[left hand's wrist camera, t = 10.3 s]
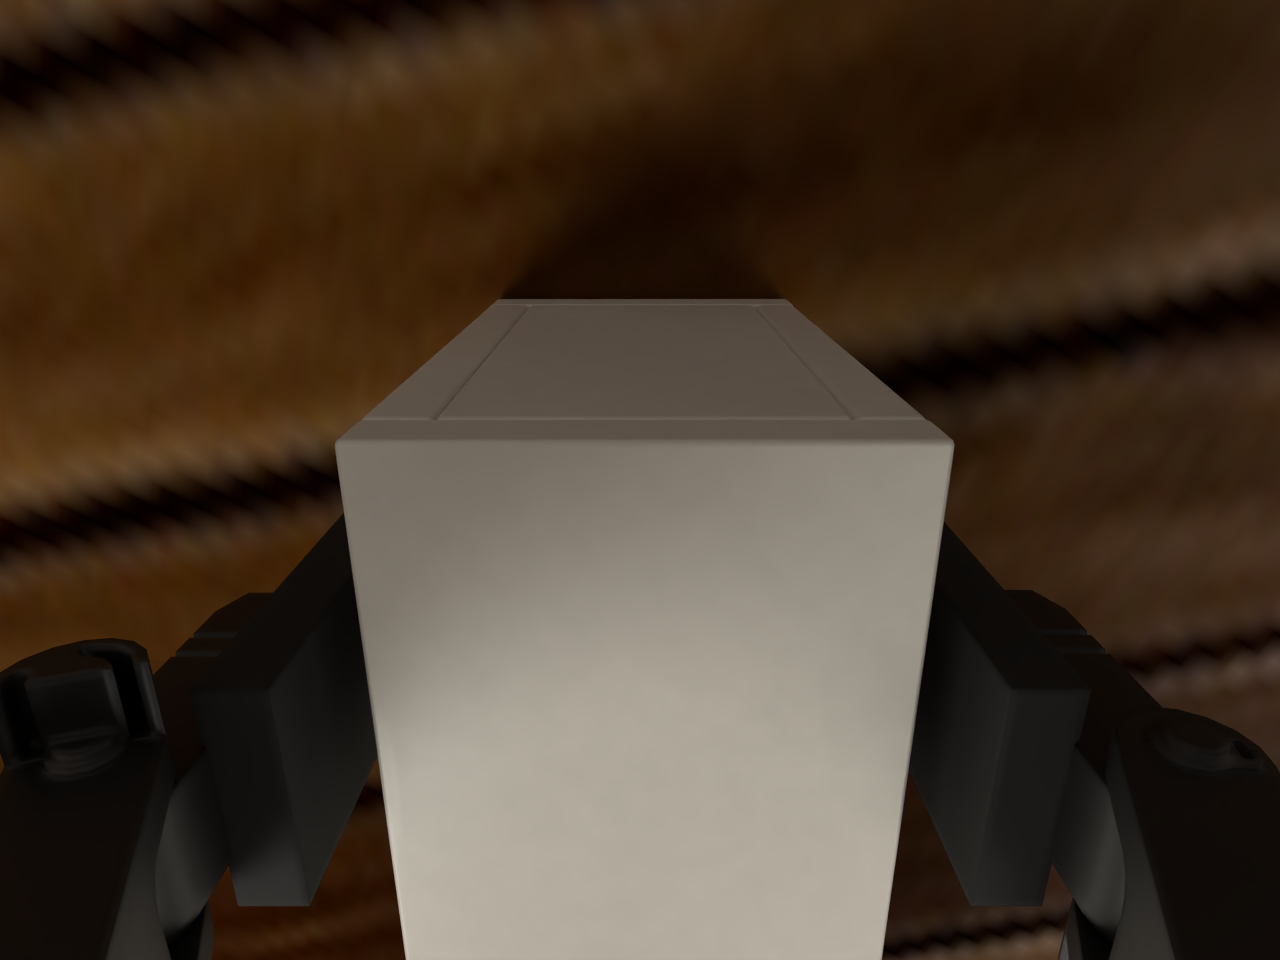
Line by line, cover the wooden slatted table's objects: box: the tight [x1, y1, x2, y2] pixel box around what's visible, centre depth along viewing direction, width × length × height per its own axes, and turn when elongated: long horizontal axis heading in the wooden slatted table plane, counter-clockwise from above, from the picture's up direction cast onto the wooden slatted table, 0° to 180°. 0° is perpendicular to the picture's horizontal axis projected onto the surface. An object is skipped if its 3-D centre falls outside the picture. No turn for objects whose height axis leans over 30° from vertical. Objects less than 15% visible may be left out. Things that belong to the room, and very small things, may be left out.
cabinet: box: [335, 299, 954, 960], centre depth 16 cm, size 22×6×9 cm, turn 0°
